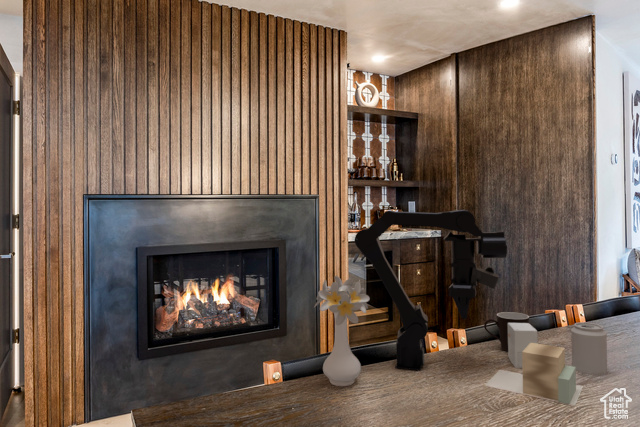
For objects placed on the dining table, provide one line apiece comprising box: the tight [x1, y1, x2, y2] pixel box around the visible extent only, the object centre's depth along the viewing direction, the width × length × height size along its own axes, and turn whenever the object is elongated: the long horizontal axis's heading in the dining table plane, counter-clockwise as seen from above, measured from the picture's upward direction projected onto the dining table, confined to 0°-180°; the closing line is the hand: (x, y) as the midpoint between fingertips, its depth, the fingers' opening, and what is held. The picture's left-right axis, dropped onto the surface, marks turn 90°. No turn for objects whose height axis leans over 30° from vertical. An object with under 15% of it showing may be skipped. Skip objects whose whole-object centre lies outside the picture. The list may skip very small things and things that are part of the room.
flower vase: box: [313, 275, 371, 387], centre depth 106 cm, size 13×18×25 cm
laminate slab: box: [484, 369, 584, 407], centre depth 99 cm, size 18×12×1 cm, turn 52°
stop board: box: [557, 364, 577, 405], centre depth 94 cm, size 2×9×5 cm, turn 142°
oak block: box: [521, 343, 566, 401], centre depth 97 cm, size 7×8×9 cm
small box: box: [507, 323, 539, 369], centre depth 114 cm, size 8×6×10 cm
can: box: [570, 321, 608, 376], centre depth 109 cm, size 8×8×12 cm
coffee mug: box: [483, 311, 530, 353], centre depth 128 cm, size 12×9×10 cm
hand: (464, 318), depth 113 cm, fingers closed
